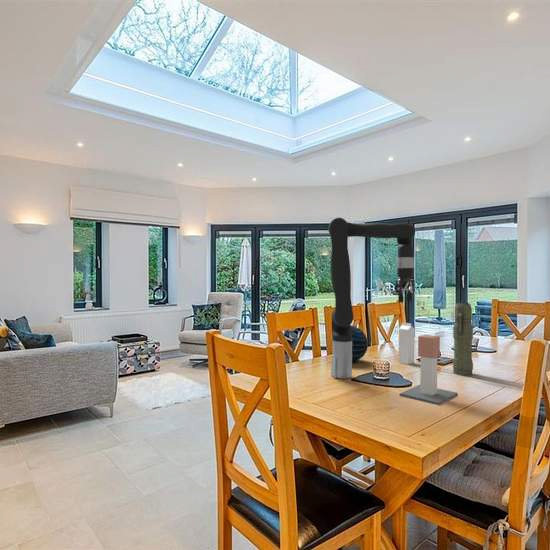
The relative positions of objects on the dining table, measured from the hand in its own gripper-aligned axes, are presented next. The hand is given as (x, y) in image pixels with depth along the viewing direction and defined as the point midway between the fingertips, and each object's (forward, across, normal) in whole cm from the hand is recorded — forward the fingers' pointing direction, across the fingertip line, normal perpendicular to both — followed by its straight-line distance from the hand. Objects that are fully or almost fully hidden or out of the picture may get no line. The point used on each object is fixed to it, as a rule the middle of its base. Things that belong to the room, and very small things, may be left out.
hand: (405, 301), depth 184 cm
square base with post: (+36, +17, +19) cm, 44 cm away
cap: (+20, +17, +19) cm, 32 cm away
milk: (+36, -31, -15) cm, 50 cm away
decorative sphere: (+36, -11, -39) cm, 54 cm away
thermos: (+36, -29, +16) cm, 49 cm away
